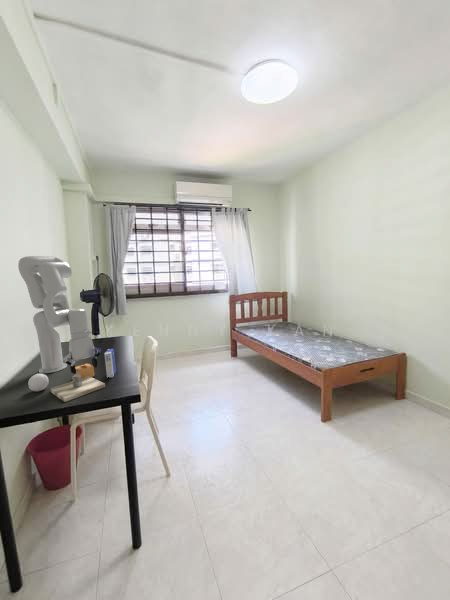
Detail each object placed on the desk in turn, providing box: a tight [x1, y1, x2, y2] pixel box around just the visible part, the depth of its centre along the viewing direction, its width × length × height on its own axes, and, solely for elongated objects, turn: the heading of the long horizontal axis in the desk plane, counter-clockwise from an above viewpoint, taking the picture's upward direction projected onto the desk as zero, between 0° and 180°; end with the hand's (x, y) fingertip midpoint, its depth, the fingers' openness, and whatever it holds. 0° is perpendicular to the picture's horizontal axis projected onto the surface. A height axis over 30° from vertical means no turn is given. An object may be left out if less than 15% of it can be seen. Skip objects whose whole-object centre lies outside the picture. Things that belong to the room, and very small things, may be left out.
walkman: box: [104, 348, 117, 379], centre depth 129 cm, size 8×3×12 cm, turn 11°
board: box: [49, 374, 106, 403], centre depth 114 cm, size 16×16×6 cm
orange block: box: [73, 363, 95, 378], centre depth 129 cm, size 7×7×5 cm
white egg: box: [27, 373, 50, 392], centre depth 114 cm, size 10×7×7 cm
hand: (84, 370), depth 128 cm, fingers open, 9 cm apart
